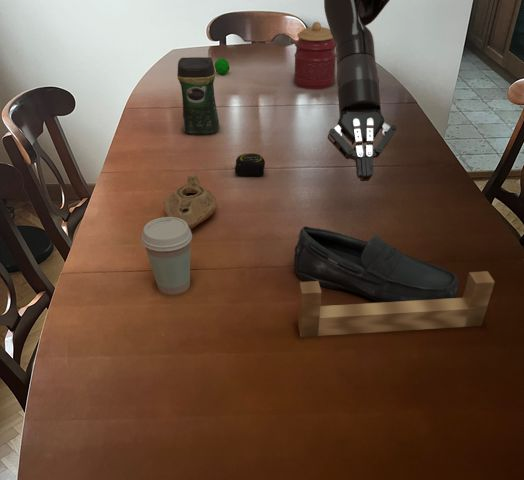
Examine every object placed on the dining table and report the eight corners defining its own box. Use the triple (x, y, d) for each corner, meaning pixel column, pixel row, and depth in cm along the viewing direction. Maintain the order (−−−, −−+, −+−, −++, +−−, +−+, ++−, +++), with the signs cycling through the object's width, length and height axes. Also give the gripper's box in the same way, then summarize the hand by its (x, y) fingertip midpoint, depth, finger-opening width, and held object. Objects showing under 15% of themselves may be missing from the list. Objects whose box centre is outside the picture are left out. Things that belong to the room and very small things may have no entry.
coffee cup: (195, 270, 111) (189, 212, 103) (199, 297, 104) (193, 238, 96) (149, 275, 110) (139, 217, 102) (150, 302, 103) (140, 243, 95)
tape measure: (234, 179, 139) (233, 164, 136) (238, 166, 144) (237, 151, 141) (263, 180, 138) (263, 164, 136) (266, 167, 143) (266, 152, 141)
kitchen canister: (285, 83, 189) (286, 22, 177) (313, 74, 195) (315, 14, 184) (315, 93, 182) (317, 30, 170) (343, 83, 188) (347, 21, 176)
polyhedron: (232, 74, 197) (232, 58, 194) (222, 77, 194) (221, 62, 191) (222, 71, 199) (221, 55, 196) (211, 74, 197) (210, 59, 194)
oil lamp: (166, 242, 118) (161, 206, 113) (165, 206, 129) (160, 172, 124) (221, 237, 119) (218, 201, 114) (215, 202, 130) (212, 168, 125)
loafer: (450, 322, 98) (463, 271, 91) (284, 291, 105) (284, 241, 99) (456, 287, 105) (469, 238, 98) (300, 260, 113) (302, 212, 106)
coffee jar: (220, 125, 163) (216, 53, 151) (217, 136, 158) (212, 62, 145) (185, 125, 164) (178, 53, 152) (181, 136, 158) (173, 62, 146)
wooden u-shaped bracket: (474, 315, 99) (487, 271, 93) (481, 326, 97) (494, 282, 91) (298, 326, 98) (299, 281, 92) (300, 338, 96) (301, 293, 90)
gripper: (388, 96, 113) (395, 184, 112) (319, 99, 112) (326, 188, 111) (399, 75, 105) (406, 170, 104) (325, 78, 105) (332, 174, 104)
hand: (365, 179), depth 108 cm, fingers closed
